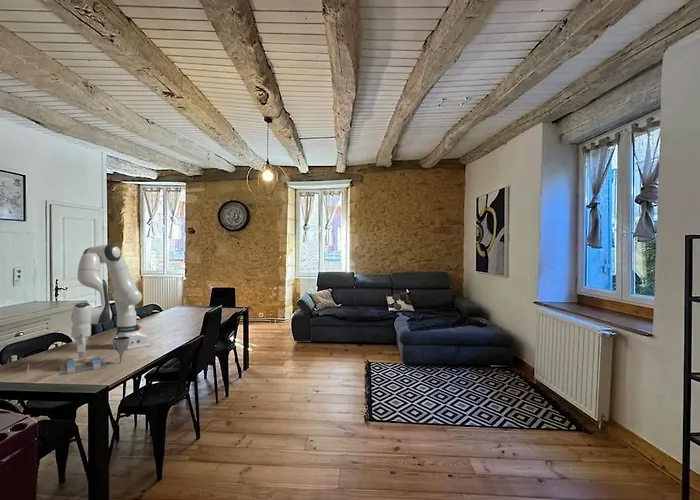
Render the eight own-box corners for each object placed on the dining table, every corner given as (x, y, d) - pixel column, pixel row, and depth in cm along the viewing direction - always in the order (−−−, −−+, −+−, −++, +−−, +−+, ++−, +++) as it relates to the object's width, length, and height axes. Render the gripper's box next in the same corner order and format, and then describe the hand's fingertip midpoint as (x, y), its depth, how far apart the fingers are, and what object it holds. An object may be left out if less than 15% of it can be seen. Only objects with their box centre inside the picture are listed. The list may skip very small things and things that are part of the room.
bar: (99, 360, 213) (99, 355, 213) (100, 362, 211) (100, 356, 211) (64, 365, 203) (64, 360, 203) (64, 367, 201) (64, 361, 201)
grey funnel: (132, 363, 212) (132, 337, 212) (119, 367, 205) (119, 340, 205) (121, 361, 215) (122, 335, 215) (109, 365, 208) (109, 339, 208)
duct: (103, 360, 217) (103, 351, 217) (107, 370, 201) (107, 360, 201) (59, 366, 205) (60, 357, 205) (60, 377, 188) (60, 367, 188)
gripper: (89, 335, 200) (88, 361, 200) (87, 329, 217) (86, 353, 217) (74, 337, 197) (73, 363, 196) (74, 330, 213) (73, 354, 213)
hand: (80, 357), depth 207 cm, fingers open, 8 cm apart
